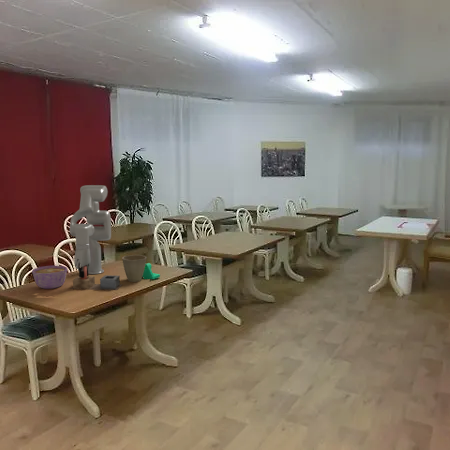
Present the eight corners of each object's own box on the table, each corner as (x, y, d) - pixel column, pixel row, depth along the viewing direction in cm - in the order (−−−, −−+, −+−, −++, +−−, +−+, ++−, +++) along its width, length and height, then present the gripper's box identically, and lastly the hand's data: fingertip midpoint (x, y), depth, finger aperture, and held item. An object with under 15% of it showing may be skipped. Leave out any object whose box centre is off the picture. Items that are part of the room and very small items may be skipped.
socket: (100, 289, 276) (100, 279, 275) (105, 284, 285) (104, 275, 284) (115, 289, 276) (115, 279, 275) (119, 285, 285) (119, 275, 284)
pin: (80, 286, 280) (79, 267, 279) (83, 284, 284) (82, 265, 282) (85, 287, 279) (84, 267, 278) (88, 285, 283) (87, 266, 281)
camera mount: (160, 278, 306) (160, 263, 305) (152, 280, 300) (152, 265, 299) (147, 275, 313) (147, 260, 312) (139, 278, 307) (139, 262, 305)
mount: (73, 288, 277) (72, 280, 276) (78, 284, 286) (78, 276, 285) (89, 288, 277) (89, 280, 276) (94, 284, 286) (94, 276, 285)
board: (70, 290, 276) (70, 288, 276) (78, 285, 288) (78, 283, 288) (117, 292, 274) (117, 290, 274) (122, 286, 286) (122, 284, 286)
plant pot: (122, 285, 288) (121, 260, 286) (123, 279, 303) (122, 255, 300) (146, 284, 291) (146, 259, 288) (146, 278, 305) (146, 254, 303)
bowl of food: (75, 286, 285) (74, 268, 283) (48, 294, 268) (47, 275, 266) (53, 281, 295) (52, 264, 293) (25, 289, 278) (24, 270, 276)
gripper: (85, 243, 287) (86, 272, 290) (68, 248, 271) (70, 279, 274) (95, 244, 285) (96, 273, 287) (79, 249, 269) (81, 280, 272)
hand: (83, 276), depth 281 cm, fingers closed on pin, 3 cm apart
